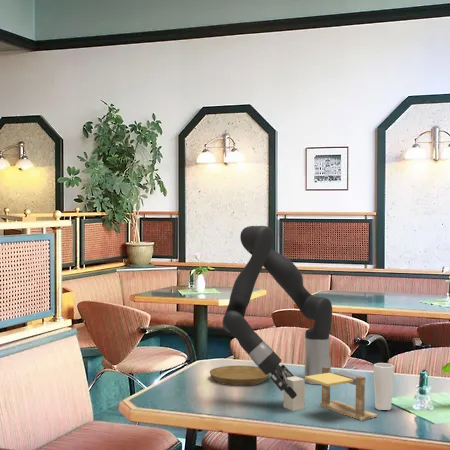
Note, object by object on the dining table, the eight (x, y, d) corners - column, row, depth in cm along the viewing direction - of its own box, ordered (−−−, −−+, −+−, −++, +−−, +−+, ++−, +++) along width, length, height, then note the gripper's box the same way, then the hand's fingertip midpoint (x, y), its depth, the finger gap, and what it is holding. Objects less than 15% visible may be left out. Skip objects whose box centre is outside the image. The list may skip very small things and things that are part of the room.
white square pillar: (295, 405, 247) (295, 376, 247) (304, 408, 243) (304, 379, 243) (283, 407, 244) (283, 378, 244) (292, 410, 240) (293, 381, 240)
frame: (335, 403, 250) (335, 364, 250) (377, 417, 233) (377, 376, 233) (319, 405, 246) (320, 366, 246) (361, 421, 230) (362, 378, 229)
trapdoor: (342, 376, 246) (342, 370, 246) (366, 383, 236) (366, 377, 236) (304, 382, 236) (304, 376, 236) (327, 390, 227) (327, 383, 227)
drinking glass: (389, 413, 239) (390, 368, 238) (370, 409, 242) (370, 365, 242) (396, 408, 244) (397, 364, 244) (377, 405, 248) (377, 362, 248)
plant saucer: (211, 372, 295) (211, 364, 295) (270, 373, 294) (270, 365, 294) (207, 387, 271) (207, 378, 271) (271, 388, 270) (271, 379, 270)
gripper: (267, 354, 238) (301, 392, 236) (277, 346, 252) (308, 381, 249) (252, 369, 240) (285, 406, 237) (262, 360, 254) (293, 395, 251)
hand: (297, 393), depth 243 cm, fingers open, 8 cm apart
